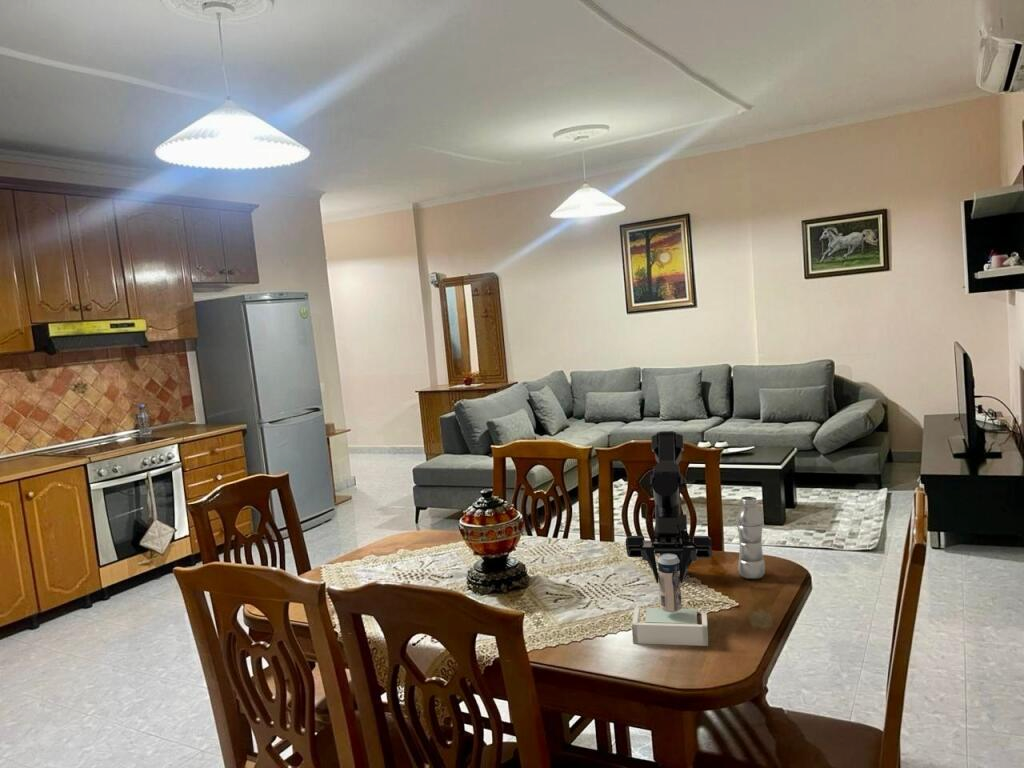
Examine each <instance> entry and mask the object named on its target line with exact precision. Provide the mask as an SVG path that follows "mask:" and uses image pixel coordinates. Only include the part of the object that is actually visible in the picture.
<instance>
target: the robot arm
mask: <svg viewBox="0 0 1024 768" xmlns="http://www.w3.org/2000/svg"><path fill="white" fill-rule="evenodd" d="M650 437H651V438H650V439H651V450H652V451H651V452H653V453H654V457H655V461H656V462H657V463H656V465H654V466H653V472H652V474H650V477H649V490H650V492H653V493H652V495H653V499H654V505H655V506H654V512H655V513H654V515H655V517H654V518H655V520H654V521H655V523H654V526H653V527H654V528H653V541H652V540H645V538H644V535H628V536H627V537H626V538H625V549H626V554H627V557H629V558H641V559H642V561H646V562H647V563H648V565H649V567H650V569H651V572H652V574H653V577H654V580H655V583H656V584H659V573H658V564H657V560H656V555H658V554H659V556H660V555H662V554H667V553H669V554H675V555H677V557H678V558H679V560H680V562H679V566H680V585H681V584H684V583H683V582H684V580H685V578H686V576H687V575H690V573H691V571H690V570H688V569H689V567H690V565H691V564H692V562H695V561H697V559H701V558H702V559H709V558H712V557H713V555H712V554H713V549H712V547H713V546H712V545H713V544H712V538H711V537H710V536H709V535H692V538H691V535H690V534H689V532H688V521H687V514H681V500H680V495H681V491H684V489H687V482H686V478H685V476H684V475H683V474H681V472H680V466H679V463H681V461H682V452H684V450H685V449H684V448H685V446H684V435H682V434H681V433H679V434H678V433H677V432H676V431H674V430H671V431H670V430H668V431H667V430H666V431H658V432H656V434H654V435H651V436H650ZM691 539H692V541H691Z"/></svg>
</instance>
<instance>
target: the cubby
mask: <svg viewBox="0 0 1024 768" xmlns="http://www.w3.org/2000/svg"><path fill="white" fill-rule="evenodd" d="M700 610H701V624H699V623H697V624H666V623H645V622H641V612H640V611H641V609H640V606H634V610H633V616H632V621H631V630H632V631H631V633H632V644H639V645H641V644H643V645H644V644H645V645H670V646H671V645H672V646H673V645H674V646H697V647H700V646H701V647H709V632H708V631H709V628H708V616H707V608H701V609H700Z"/></svg>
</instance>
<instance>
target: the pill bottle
mask: <svg viewBox="0 0 1024 768" xmlns="http://www.w3.org/2000/svg"><path fill="white" fill-rule="evenodd" d="M656 562H657V571H658V573H659V576H658V578H659V580H658V588H659V604H660V605H659V608H661V609H662V610H664V611H666V612H677V611H679V610H680V609H683V606H682V589H681V588H682V587H681V581H680V566H679V562H680V560H679V558H678V557H677V555H675V554H669V553H667V554H662V555H660V554H659V557H658V559H657V560H656Z"/></svg>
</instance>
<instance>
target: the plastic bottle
mask: <svg viewBox="0 0 1024 768" xmlns="http://www.w3.org/2000/svg"><path fill="white" fill-rule="evenodd" d="M740 500H741V501H740V506H741V508H740V510H739V511H738V512H737V515H736V518H735V519H736V526H737V532H738V533H737V534H738V538H739V556H738V563H737V568H738V569H737V570H738V573H739V574H740V576H741V577H743V578H745V579H750V580H757V579H760V578H763V576H764V575H765V572H766V564H765V560H764V554H763V546H762V541H763V540H762V539H763V538H762V537H763V535H762V534H763V526H764V519H763V516H762V513H761V512H760V511H759V509H758V508H757V506H758V503H757V497H755V496H749V495H748V496H742V497H741V498H740Z"/></svg>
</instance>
